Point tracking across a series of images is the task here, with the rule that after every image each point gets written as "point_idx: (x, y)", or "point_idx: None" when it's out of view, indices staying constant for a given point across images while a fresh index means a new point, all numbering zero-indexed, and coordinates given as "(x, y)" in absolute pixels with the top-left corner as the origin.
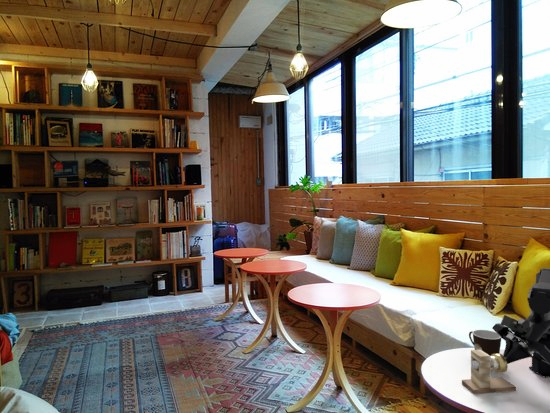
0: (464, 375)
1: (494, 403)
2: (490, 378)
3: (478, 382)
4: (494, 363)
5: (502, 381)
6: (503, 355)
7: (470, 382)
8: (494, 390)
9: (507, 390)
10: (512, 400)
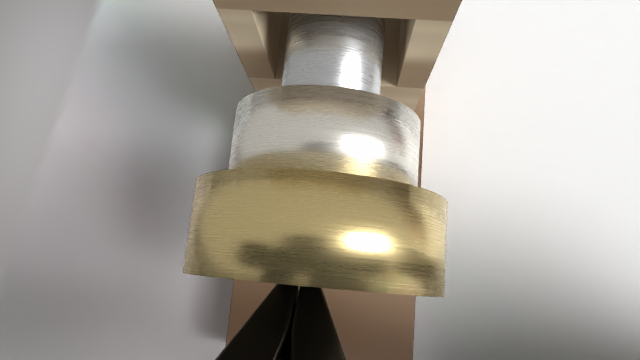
0: (549, 117)
1: (139, 58)
2: None
3: None
4: (240, 104)
5: (335, 302)
6: (328, 351)
7: None
8: None
9: None
10: (131, 202)
